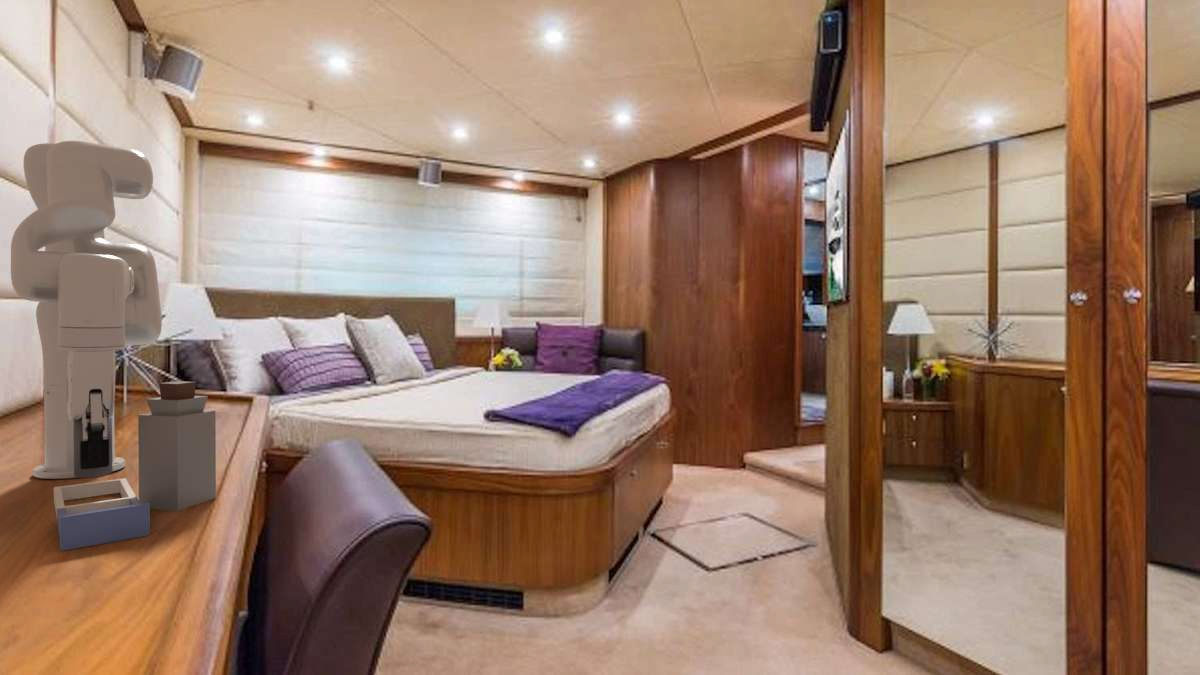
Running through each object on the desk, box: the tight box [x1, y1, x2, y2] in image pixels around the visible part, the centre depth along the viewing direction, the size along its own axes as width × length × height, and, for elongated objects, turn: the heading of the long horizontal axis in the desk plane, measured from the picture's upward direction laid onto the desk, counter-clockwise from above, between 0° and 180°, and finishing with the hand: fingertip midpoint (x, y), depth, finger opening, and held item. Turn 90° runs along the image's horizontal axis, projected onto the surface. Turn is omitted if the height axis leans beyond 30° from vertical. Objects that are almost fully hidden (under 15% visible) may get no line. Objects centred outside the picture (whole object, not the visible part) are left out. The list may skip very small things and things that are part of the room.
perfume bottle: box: [137, 380, 217, 512], centre depth 94 cm, size 7×7×18 cm
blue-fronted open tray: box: [53, 477, 151, 552], centre depth 87 cm, size 26×9×4 cm, turn 42°
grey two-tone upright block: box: [74, 417, 113, 478], centre depth 92 cm, size 4×4×8 cm
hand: (93, 462), depth 92 cm, fingers closed on grey two-tone upright block, 4 cm apart
